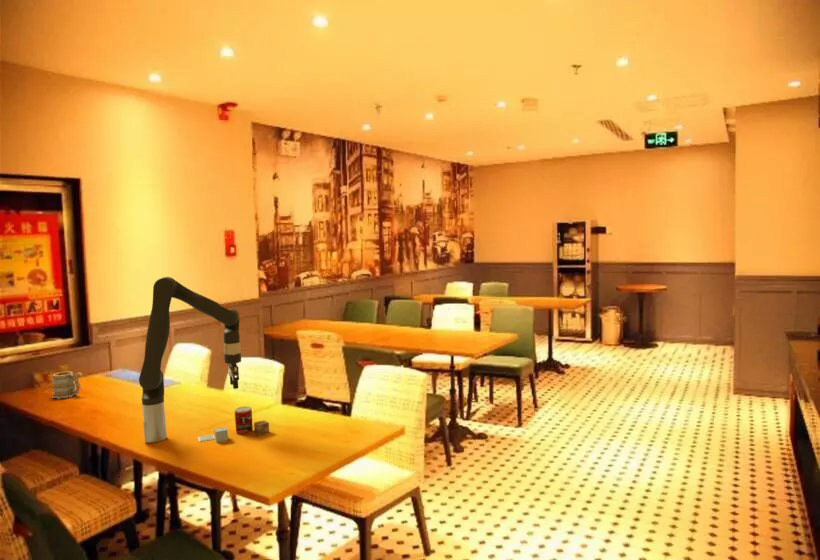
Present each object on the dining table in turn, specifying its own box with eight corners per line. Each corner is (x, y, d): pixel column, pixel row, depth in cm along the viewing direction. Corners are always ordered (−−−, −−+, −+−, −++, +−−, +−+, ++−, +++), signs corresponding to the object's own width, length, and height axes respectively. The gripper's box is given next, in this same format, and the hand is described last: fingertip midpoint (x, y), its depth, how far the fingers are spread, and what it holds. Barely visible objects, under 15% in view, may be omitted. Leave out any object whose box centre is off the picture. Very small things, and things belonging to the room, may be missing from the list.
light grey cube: (216, 442, 262) (215, 432, 261) (215, 439, 266) (214, 428, 266) (228, 440, 264) (227, 430, 263) (226, 437, 268) (225, 426, 268)
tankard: (47, 398, 349) (45, 374, 348) (65, 393, 361) (63, 369, 360) (73, 400, 343) (71, 375, 342) (91, 394, 356) (89, 370, 354)
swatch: (199, 441, 263) (199, 441, 263) (197, 437, 270) (197, 436, 270) (215, 439, 266) (214, 438, 266) (213, 434, 272) (213, 433, 272)
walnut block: (259, 435, 269) (258, 425, 268) (254, 433, 273) (254, 422, 272) (269, 433, 272) (268, 422, 271) (264, 430, 276) (263, 420, 275)
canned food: (235, 435, 270) (234, 412, 269) (236, 430, 278) (234, 407, 277) (253, 433, 272) (251, 410, 271) (252, 428, 280) (251, 405, 279)
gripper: (221, 350, 278) (223, 384, 279) (226, 355, 265) (228, 391, 266) (238, 348, 281) (239, 382, 282) (243, 353, 268) (245, 388, 269)
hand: (234, 386), depth 274 cm, fingers open, 8 cm apart
